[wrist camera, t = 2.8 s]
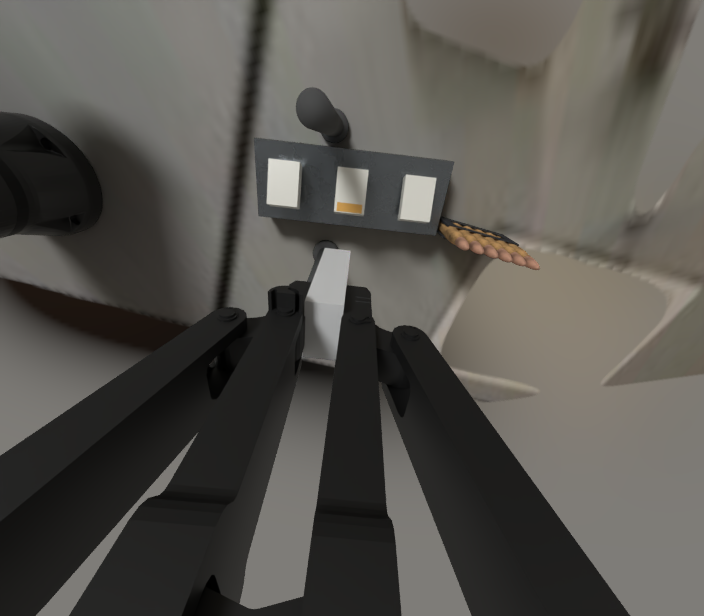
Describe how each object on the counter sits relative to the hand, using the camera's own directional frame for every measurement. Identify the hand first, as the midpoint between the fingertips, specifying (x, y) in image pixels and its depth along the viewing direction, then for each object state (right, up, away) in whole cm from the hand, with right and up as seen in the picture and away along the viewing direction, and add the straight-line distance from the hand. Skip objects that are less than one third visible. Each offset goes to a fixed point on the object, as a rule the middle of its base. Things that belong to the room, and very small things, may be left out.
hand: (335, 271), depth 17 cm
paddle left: (-7, +13, +17) cm, 22 cm away
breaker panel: (+1, +15, +23) cm, 27 cm away
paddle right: (+9, +11, +18) cm, 22 cm away
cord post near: (-1, +21, +19) cm, 28 cm away
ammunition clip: (+18, +9, +25) cm, 33 cm away
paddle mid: (+1, +12, +17) cm, 21 cm away
